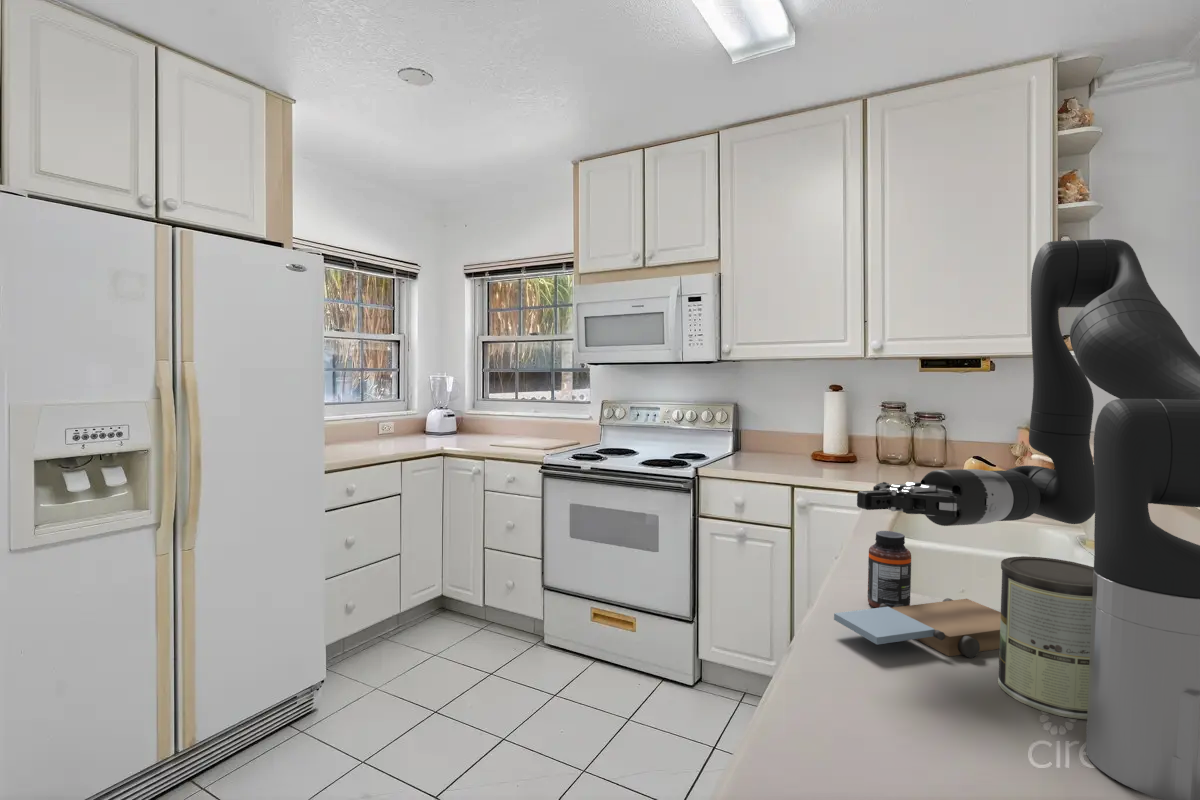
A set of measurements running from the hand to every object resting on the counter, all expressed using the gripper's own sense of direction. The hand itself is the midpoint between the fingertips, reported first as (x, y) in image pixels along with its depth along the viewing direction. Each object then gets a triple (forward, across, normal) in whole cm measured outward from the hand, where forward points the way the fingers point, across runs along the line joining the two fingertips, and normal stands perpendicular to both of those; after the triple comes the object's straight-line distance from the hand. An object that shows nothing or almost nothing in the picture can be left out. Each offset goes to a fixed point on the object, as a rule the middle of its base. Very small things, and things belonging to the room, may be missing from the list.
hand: (861, 500), depth 78 cm
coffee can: (-13, +16, +20) cm, 28 cm away
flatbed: (-17, 0, +19) cm, 25 cm away
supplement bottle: (-15, -11, +19) cm, 27 cm away
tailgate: (-9, 0, +16) cm, 19 cm away
